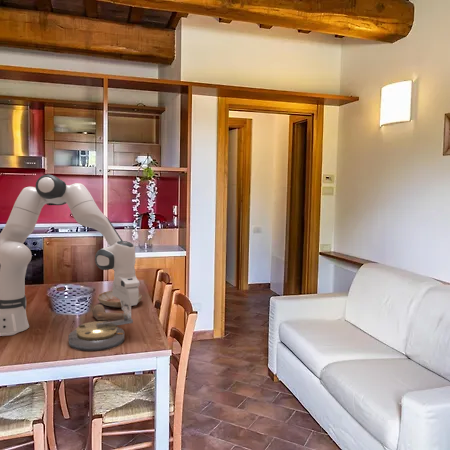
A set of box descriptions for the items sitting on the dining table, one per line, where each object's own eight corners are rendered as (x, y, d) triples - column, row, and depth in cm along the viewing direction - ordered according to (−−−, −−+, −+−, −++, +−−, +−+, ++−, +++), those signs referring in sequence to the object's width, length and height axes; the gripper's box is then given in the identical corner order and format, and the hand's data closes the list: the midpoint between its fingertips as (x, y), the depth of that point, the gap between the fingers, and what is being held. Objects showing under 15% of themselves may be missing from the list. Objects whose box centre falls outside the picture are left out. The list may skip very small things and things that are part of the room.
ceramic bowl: (97, 312, 218) (97, 302, 218) (97, 299, 241) (97, 290, 240) (144, 309, 225) (144, 300, 224) (139, 297, 247) (140, 289, 247)
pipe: (124, 312, 204) (127, 303, 213) (88, 312, 202) (92, 302, 212) (124, 325, 205) (127, 315, 215) (88, 324, 204) (92, 315, 213)
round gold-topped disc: (82, 343, 168) (81, 318, 167) (72, 330, 182) (72, 307, 181) (138, 333, 180) (138, 310, 179) (125, 322, 194) (125, 300, 193)
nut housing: (71, 354, 165) (71, 346, 164) (66, 335, 185) (66, 328, 184) (129, 346, 174) (129, 338, 174) (118, 329, 194) (118, 322, 194)
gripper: (108, 275, 193) (108, 305, 195) (127, 284, 177) (126, 318, 178) (122, 273, 197) (122, 303, 198) (141, 283, 180) (141, 315, 182)
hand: (124, 310), depth 188 cm, fingers closed
